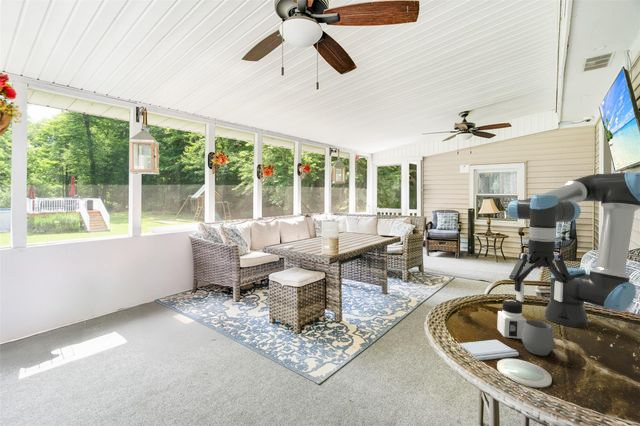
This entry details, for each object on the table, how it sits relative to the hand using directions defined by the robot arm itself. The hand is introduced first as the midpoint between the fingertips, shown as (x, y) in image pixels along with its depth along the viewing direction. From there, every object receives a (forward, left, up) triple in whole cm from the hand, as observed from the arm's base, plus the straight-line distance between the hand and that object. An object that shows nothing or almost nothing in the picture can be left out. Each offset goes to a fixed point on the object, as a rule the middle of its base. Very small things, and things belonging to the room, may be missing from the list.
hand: (538, 300), depth 108 cm
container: (0, -14, -19) cm, 23 cm away
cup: (0, 0, -19) cm, 19 cm away
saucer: (+14, +13, -18) cm, 26 cm away
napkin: (+17, -1, -18) cm, 25 cm away
